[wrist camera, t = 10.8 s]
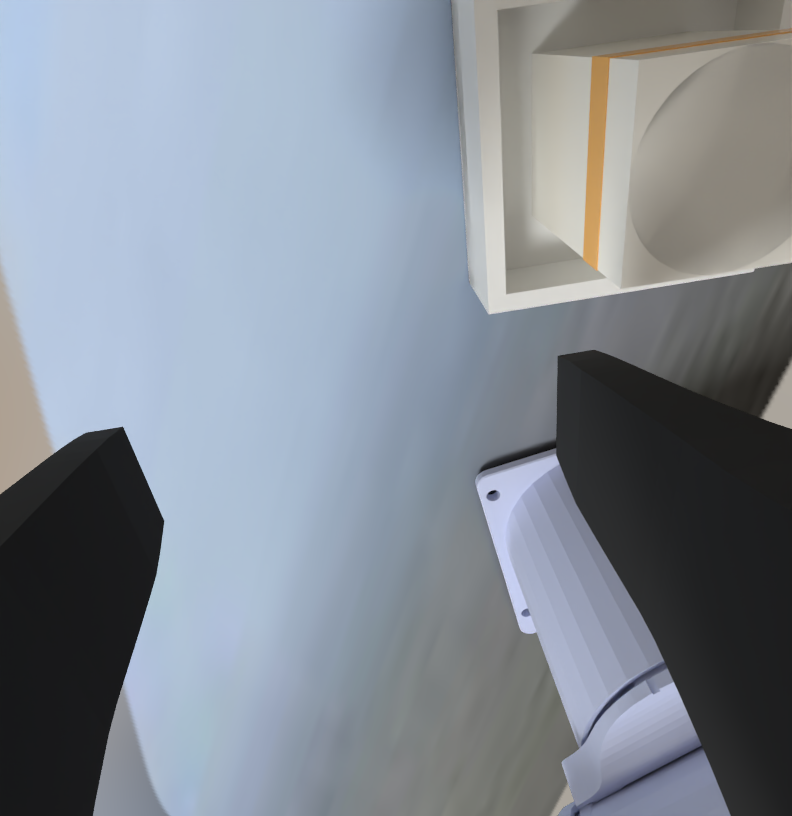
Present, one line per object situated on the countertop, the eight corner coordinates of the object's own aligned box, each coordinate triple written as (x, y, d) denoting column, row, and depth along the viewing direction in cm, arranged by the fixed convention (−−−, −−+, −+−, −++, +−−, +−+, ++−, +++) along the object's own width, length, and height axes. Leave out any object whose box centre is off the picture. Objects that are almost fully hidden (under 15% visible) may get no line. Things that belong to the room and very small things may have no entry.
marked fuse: (669, 195, 17) (814, 259, 12) (531, 216, 17) (619, 290, 12) (688, 30, 15) (873, 25, 10) (530, 52, 15) (638, 59, 10)
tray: (703, 245, 19) (753, 271, 17) (469, 282, 19) (489, 314, 17) (745, -51, 15) (818, -66, 13) (450, -7, 15) (473, -15, 13)
